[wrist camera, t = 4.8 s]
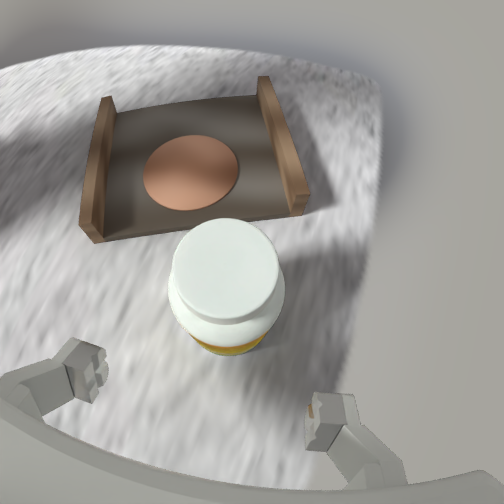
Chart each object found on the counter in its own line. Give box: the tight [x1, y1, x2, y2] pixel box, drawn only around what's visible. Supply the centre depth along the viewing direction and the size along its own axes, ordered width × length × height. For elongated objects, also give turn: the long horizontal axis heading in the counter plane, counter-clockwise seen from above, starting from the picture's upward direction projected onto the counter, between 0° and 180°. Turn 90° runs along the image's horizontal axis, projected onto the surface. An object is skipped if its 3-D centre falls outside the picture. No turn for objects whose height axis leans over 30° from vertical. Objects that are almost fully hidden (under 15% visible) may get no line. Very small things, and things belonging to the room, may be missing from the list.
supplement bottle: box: [168, 218, 285, 356], centre depth 16 cm, size 5×5×10 cm
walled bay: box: [79, 76, 310, 244], centre depth 24 cm, size 14×16×3 cm
